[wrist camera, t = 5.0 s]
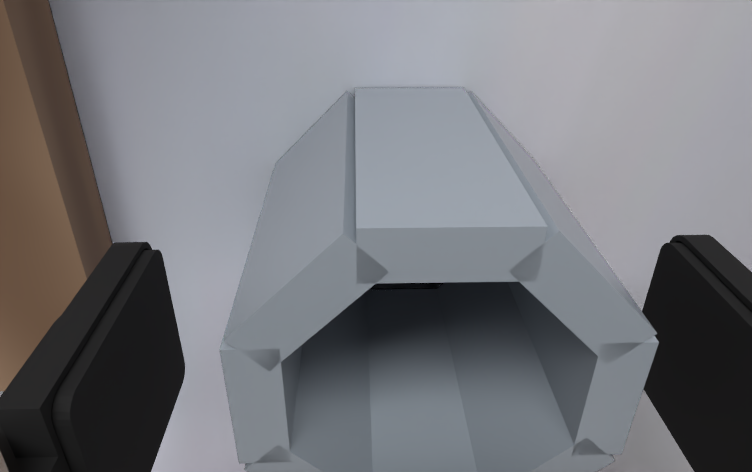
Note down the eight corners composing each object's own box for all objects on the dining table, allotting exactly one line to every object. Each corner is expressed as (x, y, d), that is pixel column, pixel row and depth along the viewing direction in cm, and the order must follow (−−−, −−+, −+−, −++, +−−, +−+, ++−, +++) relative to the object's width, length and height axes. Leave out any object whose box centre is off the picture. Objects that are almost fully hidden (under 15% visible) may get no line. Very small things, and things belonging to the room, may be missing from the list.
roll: (550, 87, 12) (698, 224, 7) (513, 312, 15) (597, 525, 10) (266, 88, 12) (198, 230, 7) (287, 315, 15) (251, 535, 10)
